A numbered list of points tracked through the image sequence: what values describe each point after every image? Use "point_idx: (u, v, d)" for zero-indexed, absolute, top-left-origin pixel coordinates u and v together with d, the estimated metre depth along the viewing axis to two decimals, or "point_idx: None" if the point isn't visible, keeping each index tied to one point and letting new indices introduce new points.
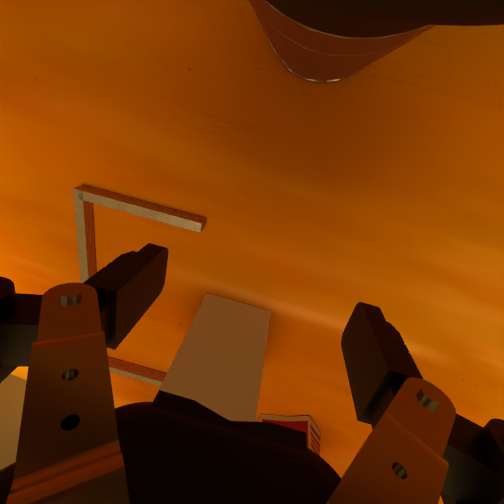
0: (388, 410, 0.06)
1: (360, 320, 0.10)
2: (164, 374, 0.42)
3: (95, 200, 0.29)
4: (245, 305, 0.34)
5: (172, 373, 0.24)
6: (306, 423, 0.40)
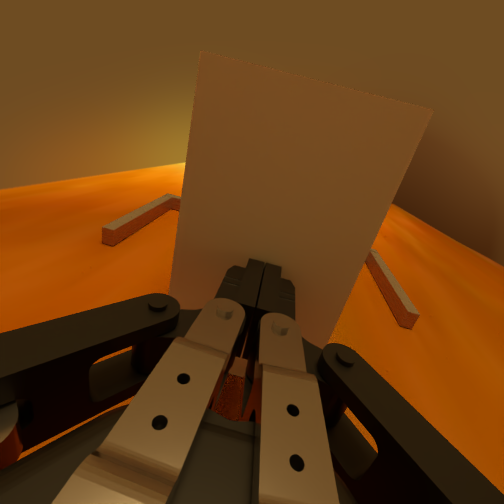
0: (260, 357, 0.07)
1: (262, 277, 0.12)
2: (128, 234, 0.26)
3: (376, 256, 0.33)
4: None
5: None
6: None
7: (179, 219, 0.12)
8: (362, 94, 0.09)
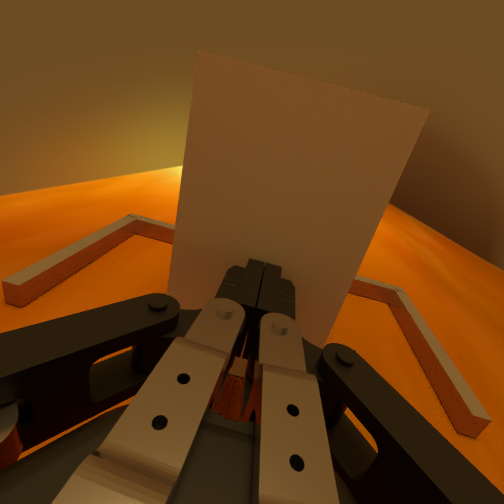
0: (260, 357, 0.07)
1: (262, 277, 0.12)
2: (54, 282, 0.18)
3: (404, 299, 0.25)
4: None
5: None
6: None
7: (177, 219, 0.12)
8: (359, 94, 0.09)
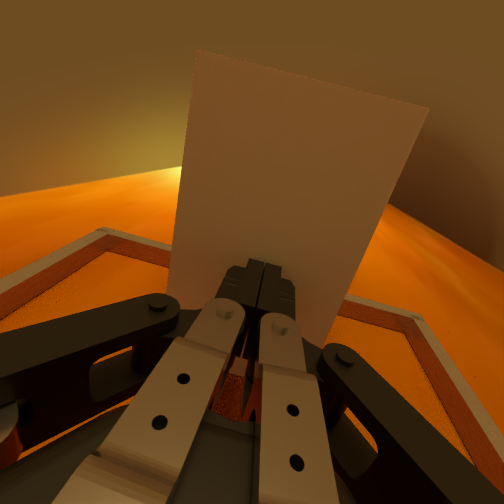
0: (260, 357, 0.07)
1: (262, 277, 0.12)
2: None
3: (425, 331, 0.21)
4: None
5: None
6: None
7: (176, 218, 0.12)
8: (358, 93, 0.09)
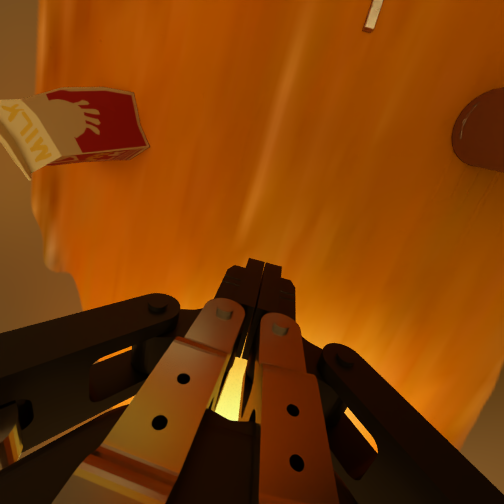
0: (260, 357, 0.07)
1: (262, 277, 0.12)
2: None
3: None
4: None
5: None
6: (144, 144, 0.42)
7: None
8: None
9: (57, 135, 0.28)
